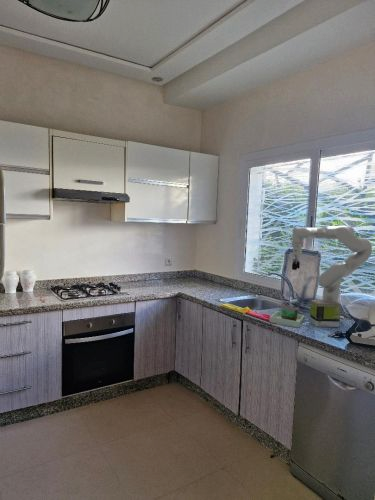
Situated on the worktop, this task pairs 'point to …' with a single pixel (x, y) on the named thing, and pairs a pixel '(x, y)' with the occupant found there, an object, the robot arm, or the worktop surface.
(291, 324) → the sorting tray
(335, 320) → the tea box
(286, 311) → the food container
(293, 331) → the worktop surface
